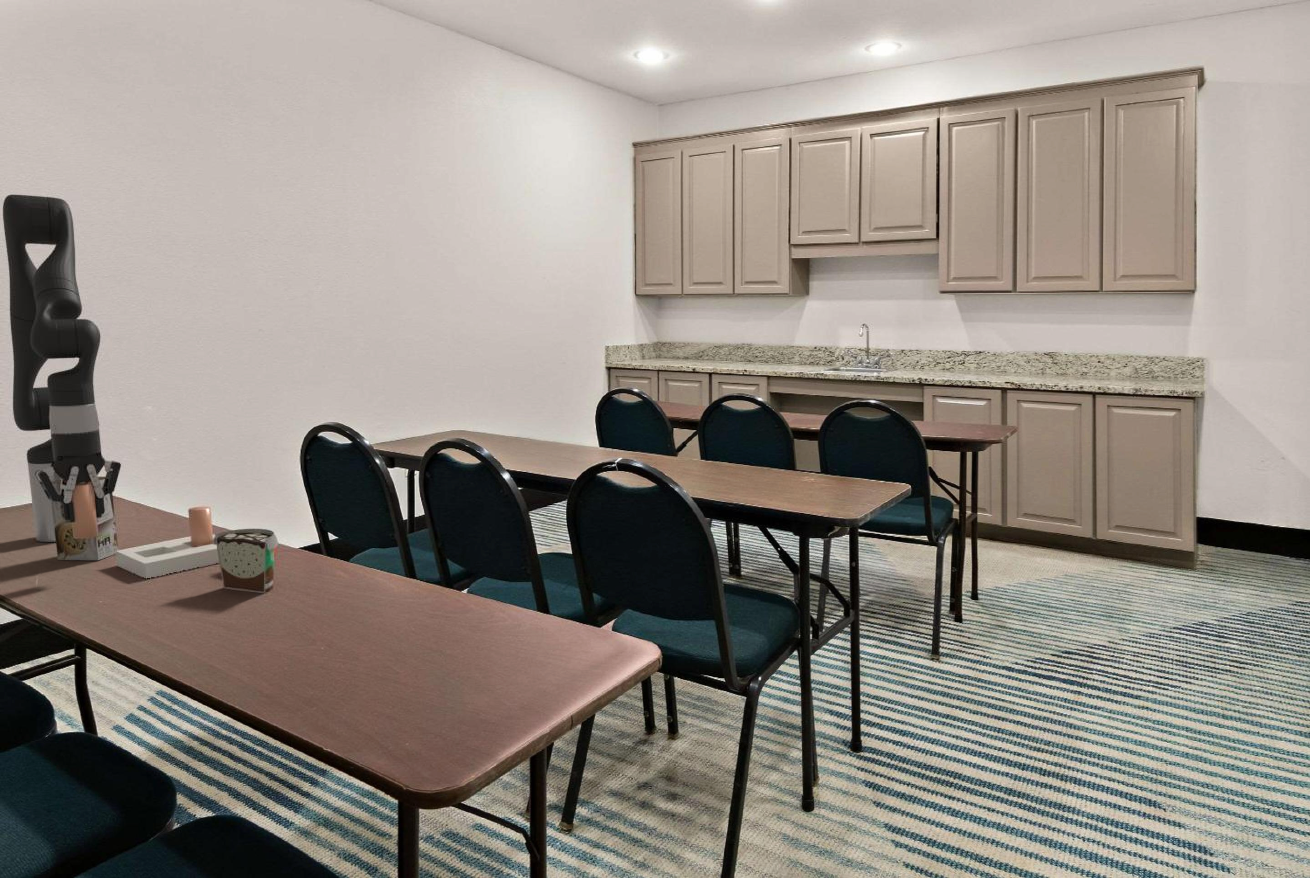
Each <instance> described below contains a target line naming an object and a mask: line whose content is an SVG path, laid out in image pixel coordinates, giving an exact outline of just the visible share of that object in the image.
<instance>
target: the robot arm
mask: <svg viewBox="0 0 1310 878" xmlns="http://www.w3.org/2000/svg"><path fill="white" fill-rule="evenodd" d="M2 219H3V229H4V231H3V232H4V236H5V237H4V238H5V239H4V240H5V246H6V255H7V261H8V262H7V264H8V273H9V275H8V276H9V320H10V335H11V343H12V345H11V346H12V354H13V355H12V357H13V377H12V378H13V380H12V381H13V384H12V387H13V388H12V414H13V419H14V423H15V425H16V427H17V428H18V429H19V430H21V431H24V432H32V431H33V432H35V431H47V430H49V431H50V438H49V439H48V440H46V441H45V442H42V443H40V444H37V445H35V446H32V447H30V448H28V450H27V451H26V461H27V469H28V476H29V478H28V479H29V485H30V486H29V487H30V494H31V502H32V503H31V505H32V514H33V521H34V531H35V539H36V541H38V542H44V543H49V542H56V539H55V531H54V523H53V515H52V507H51V500H52V501H54V502H60V503H61V511H62V517H63V519H65V520H66V521H67V522H69V523H72V522H74V511H73V503H72V502H71V498H72V493H73V491H74V488H75V484H79V483H81V482H86V483H88V482H91V483H92V484H93V488H94V493H95V504H96V514H97V518H101V517H102V514H104V512H105V508H104V496H105V495H107V494H109V493H112V494H113V493H114V491H115V489H116V486H117V481H118V478H119V475H120V471H121V466H122V463H120V462H118V461H116V460H106V459H105V458H104V457H103V454H102V444H101V433H100V421H99V414H98V411H97V407H96V398H95V390H94V388H95V387H94V372H95V366H96V360H97V357H98V353H99V348H100V345H101V333H100V329H99V328H98V326H97V324H96V323H95V322H93V321H92V320H89V319H87V318H86V319H85V318H80V316H81V315H82V312H83V304H82V301H81V297H80V292H79V287H78V282H77V277H76V245H75V229H74V228H75V227H74V219H73V216H72V211H71V208H70V206H69V204H68V202H67V201H65V200H64V199H62V198H58V197H51V196H40V195H29V194H28V195H25V194H9V195H7V196H5V198H4V200H3V203H2ZM28 244H29V245H30V244H32V245H50V246H55V247H54V248H53V250H52V252H51V253H49V255H47V257H46V259H44V260H43V262H42V263H41V264H40V265H39V266H38V268H37V267H36V265H35V264H34V263H33V260H32V259H31V258H30V256H29V252H27V248H26V245H28ZM76 358H77V359H78V362H77V363H76V365H75V366H73V367H72V368H69V369H65V370H62V371H57V372H53V373H51V374H49V375H48V376H47V381H46V385H47V386H44V387H43V386H42V387H34V386H35V382H36V379H37V377H38V374H39V372H40V371H41V369H42V368H43V366H44V364H45V363H47V361H48V360H49V359H50V360H53V359H54V360H56V359H76ZM103 468H104V471H105V472H106V474H105V476H104V477H105V481H104V484H103V487H102V488H101V483H100V481H99V478H98V477H99V476H98V475H99V473H100V472H101V471H102V469H103ZM60 479H62V480H61V485H60V488H61V490H60V494H58V493H57V492H56V490H55V488H54V486H53V484H52V482H54V481H57V480H60Z"/></svg>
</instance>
